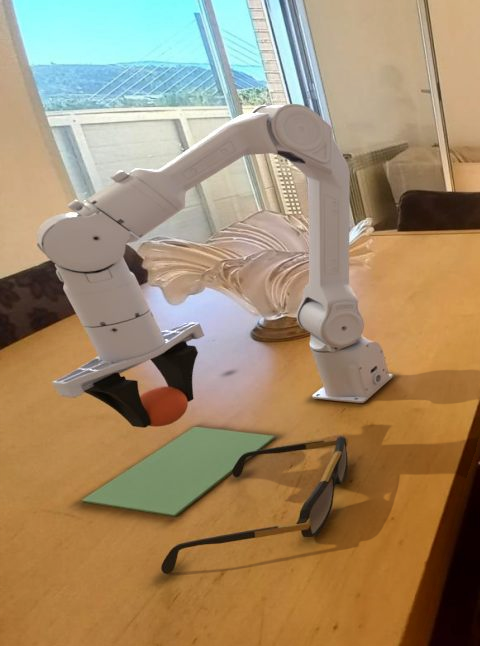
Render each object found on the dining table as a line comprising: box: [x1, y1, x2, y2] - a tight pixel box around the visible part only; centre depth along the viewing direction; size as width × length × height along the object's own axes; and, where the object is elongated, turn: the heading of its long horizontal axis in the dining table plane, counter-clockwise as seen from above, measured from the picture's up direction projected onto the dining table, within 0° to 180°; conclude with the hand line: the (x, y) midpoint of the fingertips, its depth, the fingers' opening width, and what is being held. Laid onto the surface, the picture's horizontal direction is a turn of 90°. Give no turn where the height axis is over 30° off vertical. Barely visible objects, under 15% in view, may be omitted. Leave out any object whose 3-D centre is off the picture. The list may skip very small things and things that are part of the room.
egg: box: [139, 385, 189, 428], centre depth 60 cm, size 5×5×5 cm
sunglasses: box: [160, 435, 349, 575], centre depth 55 cm, size 14×15×5 cm
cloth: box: [81, 426, 276, 517], centre depth 63 cm, size 14×14×1 cm
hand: (164, 411), depth 61 cm, fingers closed on egg, 5 cm apart
